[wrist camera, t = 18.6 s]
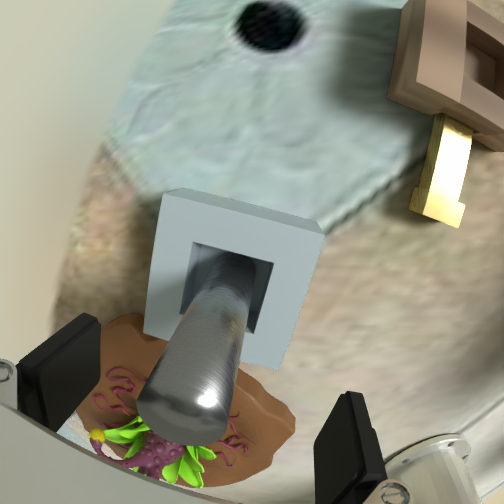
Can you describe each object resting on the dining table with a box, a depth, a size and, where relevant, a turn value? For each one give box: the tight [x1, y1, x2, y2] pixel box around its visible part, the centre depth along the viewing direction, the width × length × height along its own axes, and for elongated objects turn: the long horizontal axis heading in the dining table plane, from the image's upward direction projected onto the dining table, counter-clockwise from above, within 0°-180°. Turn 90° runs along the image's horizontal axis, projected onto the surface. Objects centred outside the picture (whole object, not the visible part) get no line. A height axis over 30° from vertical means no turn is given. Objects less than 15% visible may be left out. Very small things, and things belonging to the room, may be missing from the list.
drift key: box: [408, 112, 473, 228], centre depth 17 cm, size 12×3×2 cm, turn 166°
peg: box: [136, 251, 256, 446], centre depth 14 cm, size 3×3×13 cm
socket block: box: [387, 0, 504, 152], centre depth 14 cm, size 8×10×5 cm
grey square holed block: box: [143, 188, 325, 370], centre depth 20 cm, size 9×9×4 cm
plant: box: [76, 314, 295, 489], centre depth 21 cm, size 20×20×11 cm
